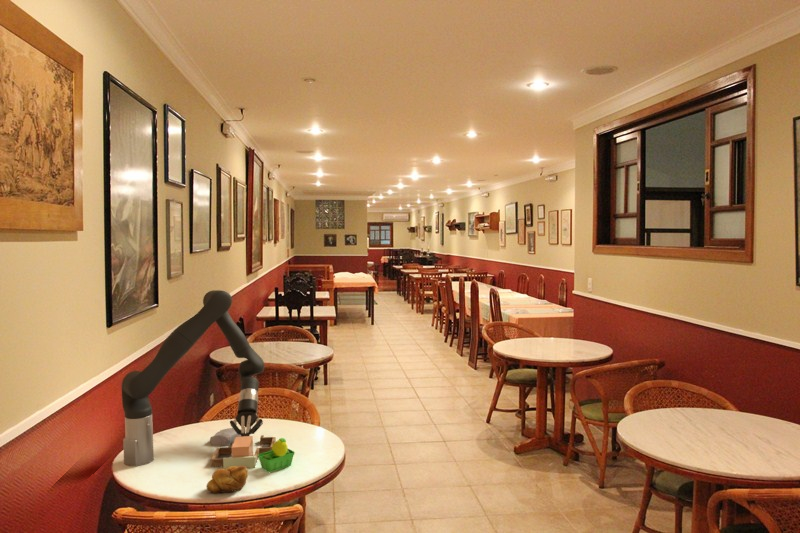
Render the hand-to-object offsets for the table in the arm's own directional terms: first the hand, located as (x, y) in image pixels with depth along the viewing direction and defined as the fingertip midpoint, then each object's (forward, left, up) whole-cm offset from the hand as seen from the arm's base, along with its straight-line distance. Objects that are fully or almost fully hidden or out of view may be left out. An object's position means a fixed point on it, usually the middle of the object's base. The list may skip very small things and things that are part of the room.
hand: (244, 443), depth 216 cm
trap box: (+1, 0, -4) cm, 4 cm away
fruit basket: (-5, -19, -5) cm, 20 cm away
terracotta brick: (-5, -3, -4) cm, 7 cm away
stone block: (+10, +18, -5) cm, 21 cm away
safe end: (-11, -6, -4) cm, 13 cm away
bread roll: (-26, -13, -5) cm, 29 cm away
